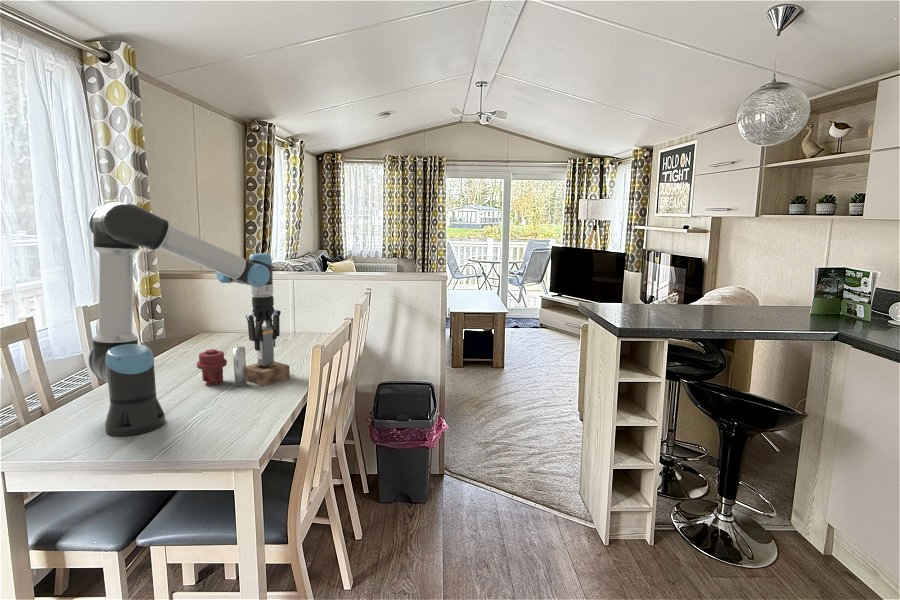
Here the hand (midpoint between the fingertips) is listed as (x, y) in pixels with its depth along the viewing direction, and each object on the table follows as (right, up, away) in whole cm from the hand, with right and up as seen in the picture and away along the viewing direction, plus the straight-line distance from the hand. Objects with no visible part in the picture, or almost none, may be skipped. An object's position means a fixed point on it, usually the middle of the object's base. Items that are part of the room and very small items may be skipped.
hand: (265, 357), depth 200 cm
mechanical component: (-18, -9, -4) cm, 21 cm away
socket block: (0, -8, +1) cm, 9 cm away
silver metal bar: (-7, -10, -6) cm, 13 cm away
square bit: (0, -3, 0) cm, 3 cm away
